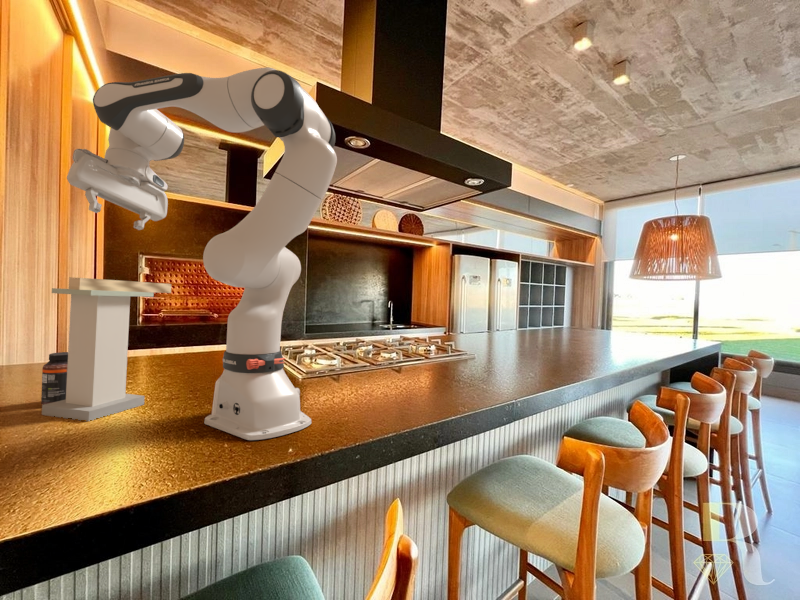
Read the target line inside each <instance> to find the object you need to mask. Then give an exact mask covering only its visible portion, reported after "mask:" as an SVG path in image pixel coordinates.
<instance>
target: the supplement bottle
mask: <svg viewBox="0 0 800 600" xmlns="http://www.w3.org/2000/svg"><path fill="white" fill-rule="evenodd" d="M67 367H68V351H65V352H63V351H62V352H60V351H59V352H53V353H49V354H48V362H46V363H45V364H44V365H43V366H42V369H41V370H42V375H41V396H40V398H41V399H40V401H41V402H40V403H41V406H42V405H44V404H48V403H53V402H57V401H61V400H65V399H66V387H67Z"/></svg>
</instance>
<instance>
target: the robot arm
mask: <svg viewBox="0 0 800 600" xmlns="http://www.w3.org/2000/svg"><path fill="white" fill-rule="evenodd" d="M92 104H93V108H94V110H95V113H96V116H97V118H98V120H99V121H100V122H101V123H102V124H104V125H106V126H108V127H110V130H109V133H108V134H109V135H108V147H107V149H106V150H105V152H104V158H103V157H102V156H100V155H98V154H95V153H94V152H92V151H90V150H88V149H87V148H76V149H74V150H73V154H72V160H73V162H72V164H71V166H70V168H69V171H68V173H67V176H66V179H67V182H68V183H69V185H71V186H72V187H75V188H76V189H77V188H78V189H80V190H82V191H84V192H85V193H84V196H85V198H86V199H87V202H88V204H89V205H88V211H91V212H93V213H95V214H97V213H100V212H101V210H102V207H103V205H102V204H101V203H99V202H98V200H97V199H98V198H101V199H102V200H105V201H107V202H110V203H112V204H114V205H116V206H119V207H121V208H123V209H125V210H128V211H130V212H133V213H135V214H137V215H139V219H140V220H139V219H138V220H135V221H134V222H133V226H132V227H133V228H134V229H136V230H137V231H141V230H144V228H145V224H146V223H147V222H148V221H149V220H152V222H153V221H154V222H158V221H161V220H163V219H165V218H166V217H167V214H168V207H169V206H168V205H169V203H168V202H169V201H168V196H167V194H166V193H165V192H166V191H167V190H168V187H169V186H168V183H166V182H165V180H164V179H162V178H161V177H160V176H159V175H158V174H156V172H155V171H154V170H153V169H152V168H151V167H150V162H151V161H155V162H158V161H159V162H160V161H166V160H172V159H175V158H177V157H178V156H180V155H181V153H182V151H183V149H184V146H185V134H184V131H183V129H182V128H181V127H180V126H179V125H177V123H175V122H174V121H173V120H171V118H169V117H167V115H165V114H164V113H163V112H161V111H160V110H158V109H164V108H169V107H175V108H180V109H183V110H186V111H187V112H191V113H192V114H195V115H197V116H199V117H201V118H202V119H204V120H205V121H208V122H209V123H211V124H212V125H213V126H215V127H217V128H219V129H221V130H223V131H226V132H228V133H247V132H250V131H252V130H254V129H258V128H260V127H264V126H265V127H266V128H267V129H268V131H270V133H271V134H272V135H273V137H275V138H279V140H280V141H282V143H283V146H284V152H283V156H282V158H281V160H280V162H279V164H278V165H277V167H276V169H275V172H274V173H273V175H272V177H271V178H270V181H269V182H268V184H267V186H266V188H265V190H264V192H263V193H262V195H261V197H260V199H259V201H258V202H257V204H256V205H254V207H253V209H251V211H250V212H248V214H247V215H246V216H245V217H244V218H243V219H242V220H240V221H239V222H238V223H237V224H236V225H235V226H233V227H232V228H230V229H228V230H227V231H225V232H223V233H219V234H217V235H214V236H213V237H212V238H211V239H210V240H208V242H207V244H206V246H205V247H204V250H203V254H202V256H203V257H202V262H203V267H204V269H205V270H206V273H207V274H208V276H209V277H211V279H213V280H215V281H217V282H219V283H222V284H225V285H227V286H231V287H235V288H243V292H242V297H241V298H240V300H239V302H238V304H237V305H236V307H235V308H234V309H232V310H231V311H230V313H229V314H228V317H227V325H226V326H227V327H226V329H227V330H226V348H225V351H224V352H223V357H222V368H223V372H222V373H221V375H220V376H219V377H218V379H217V380H216V381H215V384H214V392H213V398H212V400H213V401H212V408H211V414H208V415H207V416H205V418H204V423H203V424H205V425H207V426H208V427H209V426H210V427H211V428H214V429H218V430H219V431H223V432H226V433H227V434H231V435H233V436H236V437H238V438H241V439H244V440H247V441H259V440H267V439H272V438H276V437H281V436H285V435H288V434H291V433H294V432H298V431H302V430H303V429H305V428H307V427H309V426H310V425H311V424H312V418H311V417H309V416H308V415H307V414H306V413H304V412H303V411H301V398H300V397H301V390H300V388H299V387H295V386H294V385H293V383H292V382H291V380H290V379H289V377H288V375H287V374H286V372H285V370H284V367H285V364H286V362H285V361H284V360H286V357H284V356H283V353H282V350H281V338H282V336H281V335H282V322H283V321H282V320H283V314H284V311H285V307H286V303H287V300H288V298H289V295H290V292H291V290H292V288H293V286H294V284H296V283H297V281H298V280H299V278H300V276H301V272H302V265H301V261H300V259H299V257H298V256H297V255H296V254H295V253H294V252H293V251H292V250H290V249H288V248H287V247H286V246H287V245H288V244H289V243H290V242H291V241H292V240H293V239H295V238H296V237H297V236H299V235H301V234H303V233H304V232H305V231H307V229H308V227H309V225H310V224H311V222H312V220H313V218H314V216H315V214H316V212H317V211H318V209H319V207H320V205H321V203H322V201H323V199H324V198H325V195H326V194H327V192H328V189H329V187H330V185H331V183H332V181H333V177H334V173H335V170H336V167H337V163H338V157H337V152H336V151H335V149H334V147H335V145H336V144H335V143H336V132H335V129H334V126H333V124H332V122H331V121H330V119H329V118H328V117H327V116H326V115H325V113H324V112H323V110H322V109H321V108H320V107H319V105H318V103H317V101H316V100H315V99H314V98H313V96H311V95H310V93H308V91H306V90H305V89H304V87H302V86H301V84H300V82H298V80H296V78H294V77H292V76H291V75H289V74H288V73H287V72H284V71H282V70H279V69H276V68H273V67H267V66H266V67H259V68H253V69H248V70H247V69H246V70H243V71H241V72H237V73H235V74H231V75H228V76H225V77H210V76H209V77H208V76H207V77H206V76H201V75H200V74H196V73H192V72H184V73H183V72H181V73H174V74H169V75H163V76H158V77H152V78H147V79H142V80H136V81H135V80H134V81H128V82H127V81H126V82H125V81H114V82H107V83H105V84H103V85H102V86H100V87H99V88H98V89H97V90H96V92H95V93H94V95H93V97H92ZM97 197H98V198H97Z"/></svg>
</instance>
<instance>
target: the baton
mask: <svg viewBox="0 0 800 600" xmlns="http://www.w3.org/2000/svg"><path fill="white" fill-rule="evenodd" d="M68 289H76V290H101V291H129V292H152V293H155V294H156V293H158V294H161V293H162V294H164V293H165V294H171V293H172V283H163V282H161V283H160V282H147V281H132V280H121V279H120V280H118V279H116V280H115V279H103V278H102V279H101V278H87V277H86V278H85V277H68Z"/></svg>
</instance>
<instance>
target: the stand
mask: <svg viewBox="0 0 800 600" xmlns="http://www.w3.org/2000/svg"><path fill="white" fill-rule="evenodd" d="M154 293H155V292H129V291H101V290H76V289H69V288H57V287H56V288H51V294H61V295H70V311H69V331H68V348H67V349H68V351H67V352H68V367H67V387H66V399H65V400H61V401H57V402H53V403H48V404H44V405H42V404H41V415H42V416H48V417H54V416H55V418H61V417H63V419H68V418H72V419H71V420H75V419H78V420H77V421H81V420H86V421H85V422H88V421H89V422H91V421H90V420H92V421H94V419H95V420H97V419H96V418H99V419H101V418H100V417H102V418H104V417H103V416H105V417H107V415H108V416H111V415H110V414H112V415H115V414H119V413H121V412H124V410H125V411H127V409H128V410H131V409H134V408H138V407H141V406H144V405H145V395H143V394H142V395H141V394H140V395H139V394H132V393H126V391H127V390H126V389H127V372H128V370H127V367H128V350H129V349H128V347H129V331H130V330H129V329H130V313H131V312H130V309H131V307H130V306H131V297H144V298H146V297H149V298H154V295H155V294H154ZM114 413H115V414H114Z"/></svg>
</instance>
